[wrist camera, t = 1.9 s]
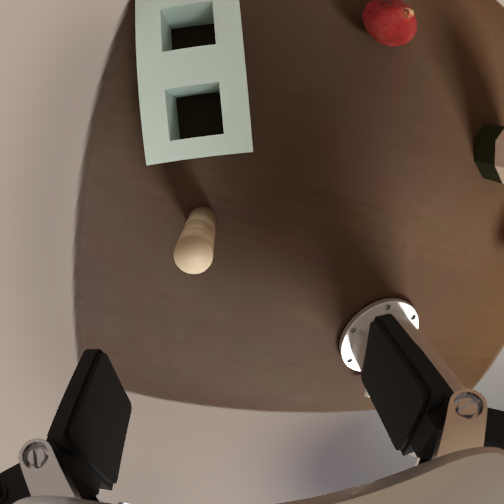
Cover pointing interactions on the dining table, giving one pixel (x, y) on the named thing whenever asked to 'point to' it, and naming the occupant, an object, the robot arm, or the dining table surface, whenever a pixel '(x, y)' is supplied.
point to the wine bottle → (490, 152)
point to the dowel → (196, 242)
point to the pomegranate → (389, 22)
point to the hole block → (190, 77)
